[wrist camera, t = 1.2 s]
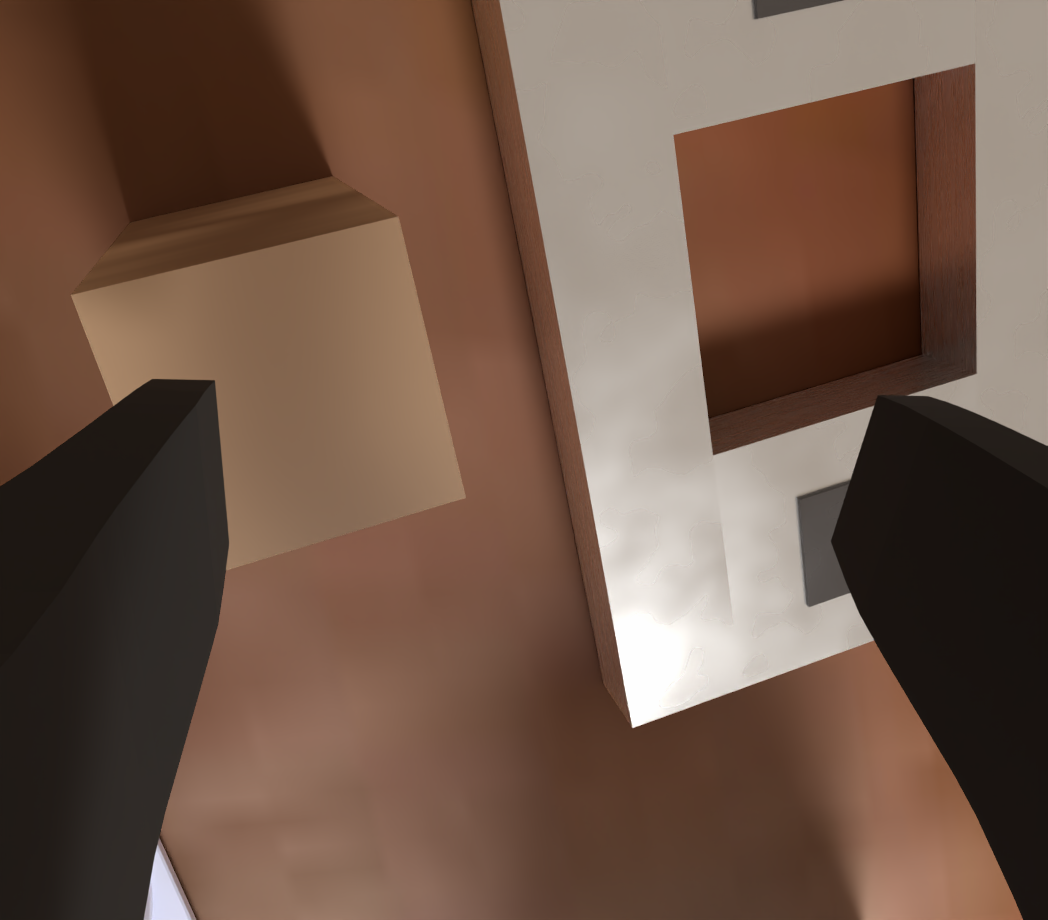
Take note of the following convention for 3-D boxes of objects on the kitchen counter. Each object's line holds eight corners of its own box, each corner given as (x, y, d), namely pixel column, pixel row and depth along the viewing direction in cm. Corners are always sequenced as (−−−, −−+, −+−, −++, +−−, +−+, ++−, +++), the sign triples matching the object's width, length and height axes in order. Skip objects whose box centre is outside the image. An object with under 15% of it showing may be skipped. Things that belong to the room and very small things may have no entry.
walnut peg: (196, 413, 20) (182, 583, 13) (130, 222, 18) (71, 295, 11) (381, 363, 21) (466, 497, 14) (332, 176, 19) (398, 216, 12)
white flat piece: (603, 684, 25) (634, 730, 23) (432, -200, 18) (457, -236, 16) (1016, 538, 28) (1074, 570, 26) (1028, -292, 20) (1111, -333, 18)
